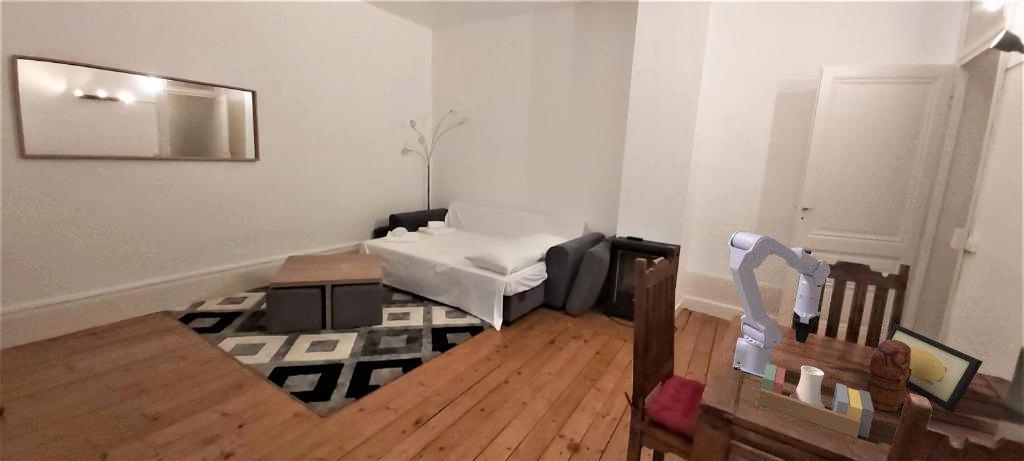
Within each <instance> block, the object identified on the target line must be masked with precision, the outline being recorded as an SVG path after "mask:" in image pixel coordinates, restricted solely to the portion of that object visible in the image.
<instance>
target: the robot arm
mask: <svg viewBox="0 0 1024 461" xmlns="http://www.w3.org/2000/svg"><path fill="white" fill-rule="evenodd" d="M727 246H728V250H729V252H730V255H729V256H730V257H729V268H730V272H731V275H732V278H733V281H734V285H735V288H736V290H737V294H738V297H739V299H740V303H741V306H742V309H743V312H744V314H742V316H741V317H740V323H741V324H740V331H741V333H742V334H743V337H738V338H737V341H736V346H735V352H734V355H733V363H732V364H733V365H732V368H733V367H734V366H735V367H740V369H741V370H740V371H741V372H745V373H748V374H751V375H754V376H758V377H761V378H763V375H764V371H765V367H766V364H767V363H768V364H771V360H772V354H773V349H775V348H776V347H777V346H778V345H779V344H780V343H781V341H782V338H783V333H782V330H781V329H780V328H778V327H777V323H776V322H775V321H774V320H773V319H772V317H770V316H769V315H768V313H767V311H766V306H765V304H764V300H763V297H762V294H761V290H760V287H759V284H758V281H757V278H756V277H757V276H756V275H755V272H754V269H757V268H759V267H760V266H761V265H762V264H763V262H764V261H765V260H766V259H767V258H768V257H769V256H770V255H775V256H778V258H779V257H780V258H781V259H782V261H783V263H784V264H785V265H786V266H788V267H789V268H791V269H793V270H795V271H796V272H797V274H800V275H799V280H798V286H797V291H796V299H795V302H794V307H793V313H794V315H795V317H792V322H793V325H794V330H795V331H794V332H795V342H797V343H801V344H805V343H806V341H807V339H808V337H809V334H810V333H811V331H812V330H813V329H814V328H815V327H816V323H815V322H812V321H813V320H814V319H815V318H816V317H817V316H819V317H822V316H823V313H822V312H821V311H818V310H819V306H820V305H819V304H820V301H821V294H822V290H823V285H825V284H826V280H827V278H828V276H829V275H830V274H831V271H832V270H831V268H830V264H828V262H827V261H825V260H824V259H823V260H822V259H819V258H816V255H814V254H813V253H812V254H811V253H810V254H809V253H808V252H806V249H805V248H803V247H792V248H790V247H788V246H786V244H784V243H781V242H780V241H779V240H776V239H775V238H773V237H769V236H767V235H760V234H757V233H753V232H748V231H745V230H742V229H741V230H736V231H735V232H734V233H733V234H732V235H731V237H730V238H729V240H728V242H727ZM737 362H739V363H740V364H739V363H737Z"/></svg>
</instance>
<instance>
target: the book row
mask: <svg viewBox="0 0 1024 461" xmlns="http://www.w3.org/2000/svg"><path fill="white" fill-rule="evenodd" d="M785 375H786V368H784V367H780V366H777V365H775V364H772V363H770V364H768V363H767V364H766V367H765V371H764V375H763V377H762V380H761V386H760V391H759V396H758V405H760V406H762V407H765V408H767V409H771V410H774V411H776V412H780V413H783V414H785V415H788V416H791V417H793V418H797V419H801V420H803V421H806V422H809V423H812V424H814V425H815V424H816V425H818V426H819V427H820V426H821V427H823V428H827V429H830V430H833V431H836V432H839V433H841V434H844V435H848V436H851V437H853V438H855V439H858V436H859V437H863V438H866V439H869V436H870V431H871V428H872V422H873V418H874V413H875V411H874V409H875V408H874V407H873V405H872V401H871V397H870V392H866V390H863V389H853V388H850V387H847V385H845V384H841V383H838V382H836V384H835V389H834V393H833V398H832V403H831V409H828V408H822V407H819V406H816V405H813V404H810V403H807V402H804V401H800V400H797V399H794V398H791V397H789V396H788V395H784V394H782V393H783V387H784V383H785Z"/></svg>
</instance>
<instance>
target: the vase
mask: <svg viewBox="0 0 1024 461" xmlns="http://www.w3.org/2000/svg"><path fill="white" fill-rule="evenodd" d="M800 369H801V370H800V371H801V372H800V378H799V382H798V384H797V387H796V389H795V390H794V392H793V393H791V394H790V395H789V396H788V397H791V398H794V399H797V400H800V401H804V402H807V403H810V404H813V405H816V406H819V407H822V408H825V405H824V403H823V400H822V394H821V393H822V392H821V388H822V387H821V386H822V381H823V378H824V375H825V373H824V371H823V370H821V369H819V368H817V367H814V366H811V365H802V366H801V367H800Z"/></svg>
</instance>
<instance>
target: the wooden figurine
mask: <svg viewBox="0 0 1024 461" xmlns="http://www.w3.org/2000/svg"><path fill="white" fill-rule="evenodd" d="M910 353H911V349H910V347H909V346H908V345H907V344H905V343H903V342H901V341H898V340H886V339H885V340H884V341H882V342H881V343H880V344H879V345H878V346H877V351H875V352H874V353H873V355H872V356H871V358H870V364H869V370H870V376H869V379H868V380H867V381H868V382H867V386H866V390H865V391H866V392H870V397H871V401H872V405H873V409H877V410H882V411H884V412H885V411H886V412H897V411H898V410H899V409H901V408H902V407H903V406H902V405H903V404H905V399H906V397H907V385H906V383H907V382H909V379H910V375H911V369H910V368H909V366H910V362H911V355H910Z"/></svg>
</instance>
